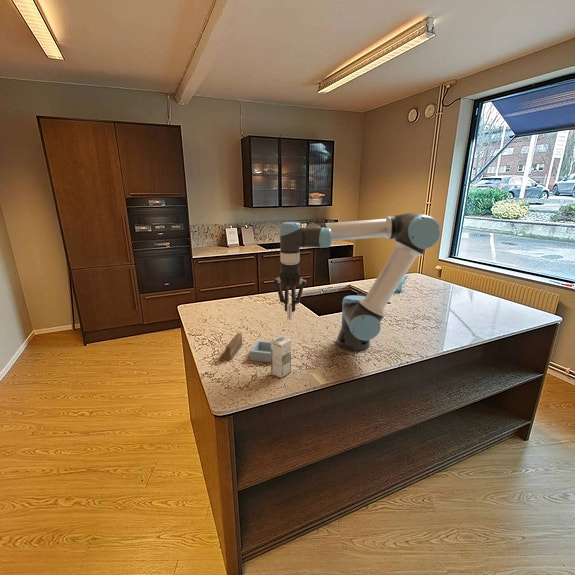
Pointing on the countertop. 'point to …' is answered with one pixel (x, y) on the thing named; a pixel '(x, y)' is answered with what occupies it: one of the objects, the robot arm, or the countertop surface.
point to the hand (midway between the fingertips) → (290, 318)
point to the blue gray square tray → (261, 351)
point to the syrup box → (281, 356)
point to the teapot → (401, 284)
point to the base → (232, 347)
